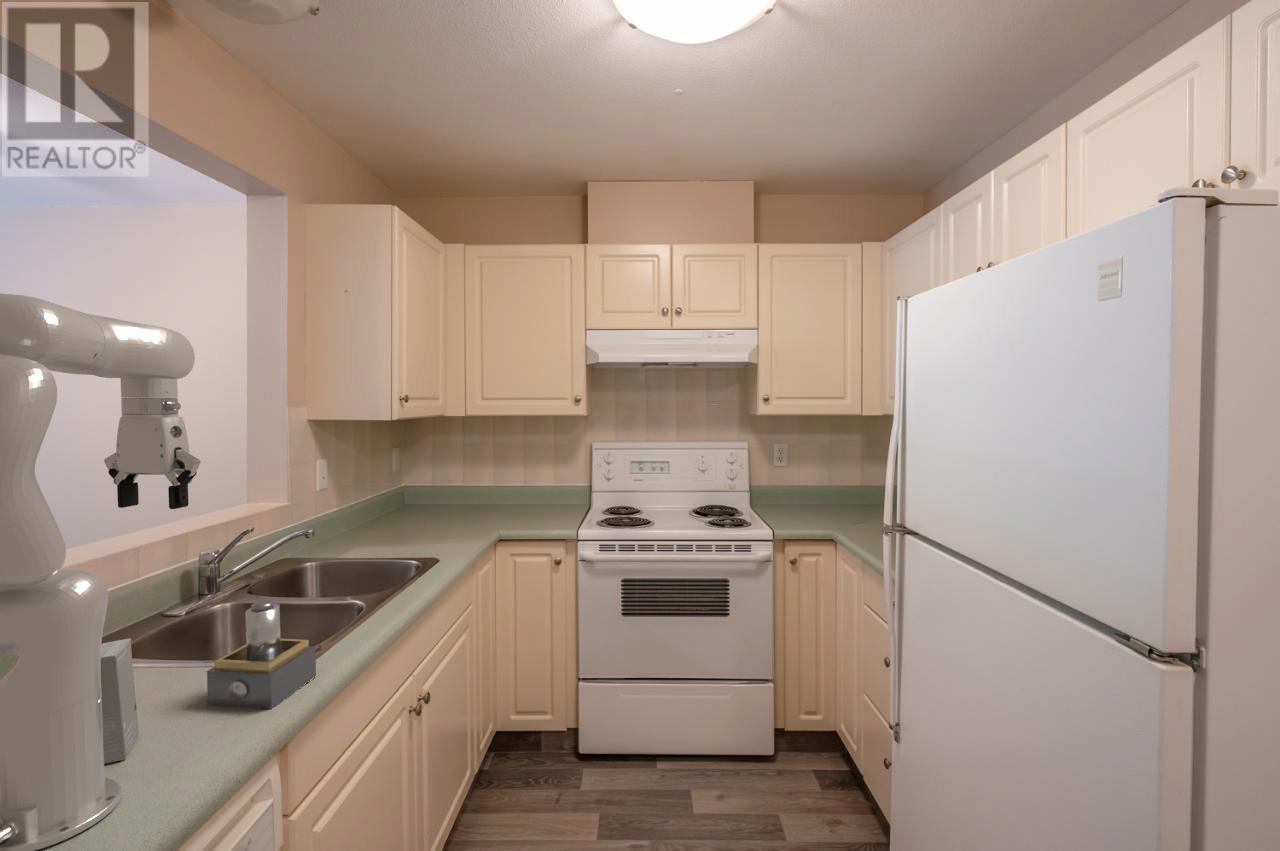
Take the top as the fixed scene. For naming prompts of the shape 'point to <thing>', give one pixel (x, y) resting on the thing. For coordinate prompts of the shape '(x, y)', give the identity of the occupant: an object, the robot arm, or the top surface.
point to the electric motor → (263, 631)
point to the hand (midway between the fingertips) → (153, 507)
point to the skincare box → (118, 700)
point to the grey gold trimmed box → (261, 676)
